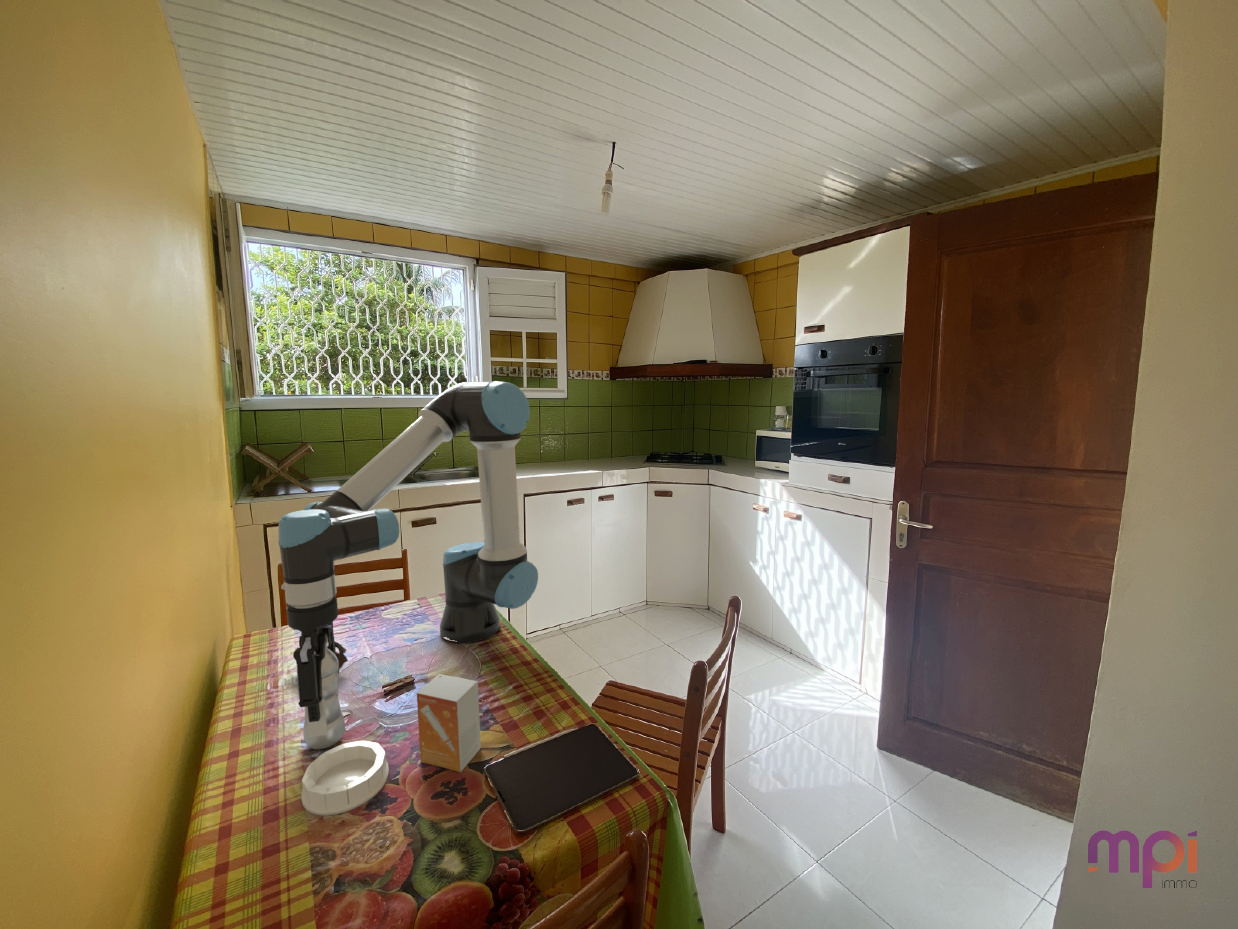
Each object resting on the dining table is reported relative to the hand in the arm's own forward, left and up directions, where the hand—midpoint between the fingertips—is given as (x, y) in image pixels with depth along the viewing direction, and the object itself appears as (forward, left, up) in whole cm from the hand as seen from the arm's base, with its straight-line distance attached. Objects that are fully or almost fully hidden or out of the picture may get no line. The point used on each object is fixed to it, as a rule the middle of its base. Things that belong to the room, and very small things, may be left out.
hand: (323, 722), depth 91 cm
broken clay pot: (+7, -26, -4) cm, 27 cm away
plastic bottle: (0, 0, -4) cm, 4 cm away
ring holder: (-6, +12, -4) cm, 14 cm away
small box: (-22, +10, -4) cm, 25 cm away
